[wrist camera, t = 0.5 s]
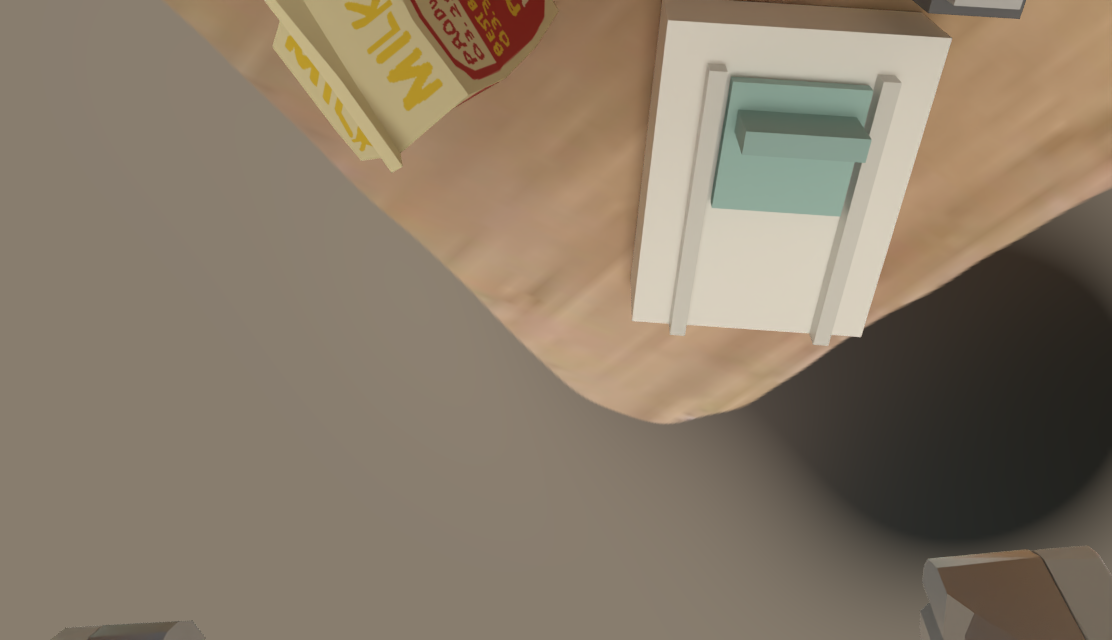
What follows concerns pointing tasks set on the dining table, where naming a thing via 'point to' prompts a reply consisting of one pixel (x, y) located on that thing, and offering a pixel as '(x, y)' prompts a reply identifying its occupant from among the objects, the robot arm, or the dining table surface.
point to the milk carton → (402, 60)
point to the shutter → (790, 145)
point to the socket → (771, 237)
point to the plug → (974, 7)
